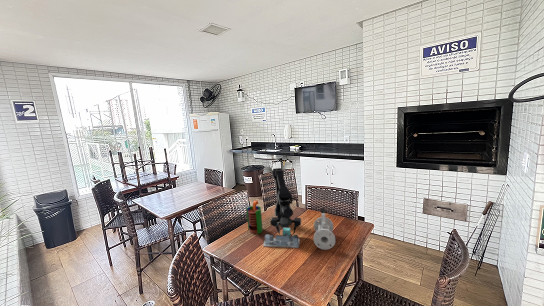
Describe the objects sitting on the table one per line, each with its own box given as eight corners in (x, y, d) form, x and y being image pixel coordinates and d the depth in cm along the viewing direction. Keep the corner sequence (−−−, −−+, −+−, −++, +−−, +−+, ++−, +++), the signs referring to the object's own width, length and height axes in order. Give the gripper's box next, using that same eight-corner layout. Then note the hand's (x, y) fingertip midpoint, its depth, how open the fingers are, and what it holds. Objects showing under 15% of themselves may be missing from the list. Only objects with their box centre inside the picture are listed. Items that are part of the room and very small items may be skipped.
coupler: (282, 239, 136) (281, 232, 136) (284, 233, 144) (283, 226, 143) (289, 239, 135) (289, 232, 135) (290, 233, 143) (290, 226, 142)
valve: (335, 250, 121) (335, 224, 119) (313, 249, 124) (312, 224, 121) (333, 230, 142) (332, 208, 140) (314, 230, 145) (313, 208, 143)
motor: (245, 232, 148) (243, 203, 145) (252, 226, 156) (250, 199, 153) (258, 234, 143) (256, 205, 140) (265, 228, 151) (263, 200, 148)
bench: (266, 239, 138) (265, 232, 137) (299, 240, 133) (299, 233, 133) (263, 246, 130) (262, 238, 129) (298, 247, 126) (298, 240, 125)
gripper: (267, 215, 131) (269, 240, 133) (299, 216, 127) (300, 241, 130) (271, 208, 142) (273, 231, 144) (300, 208, 138) (301, 232, 140)
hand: (286, 234), depth 139 cm, fingers open, 9 cm apart
